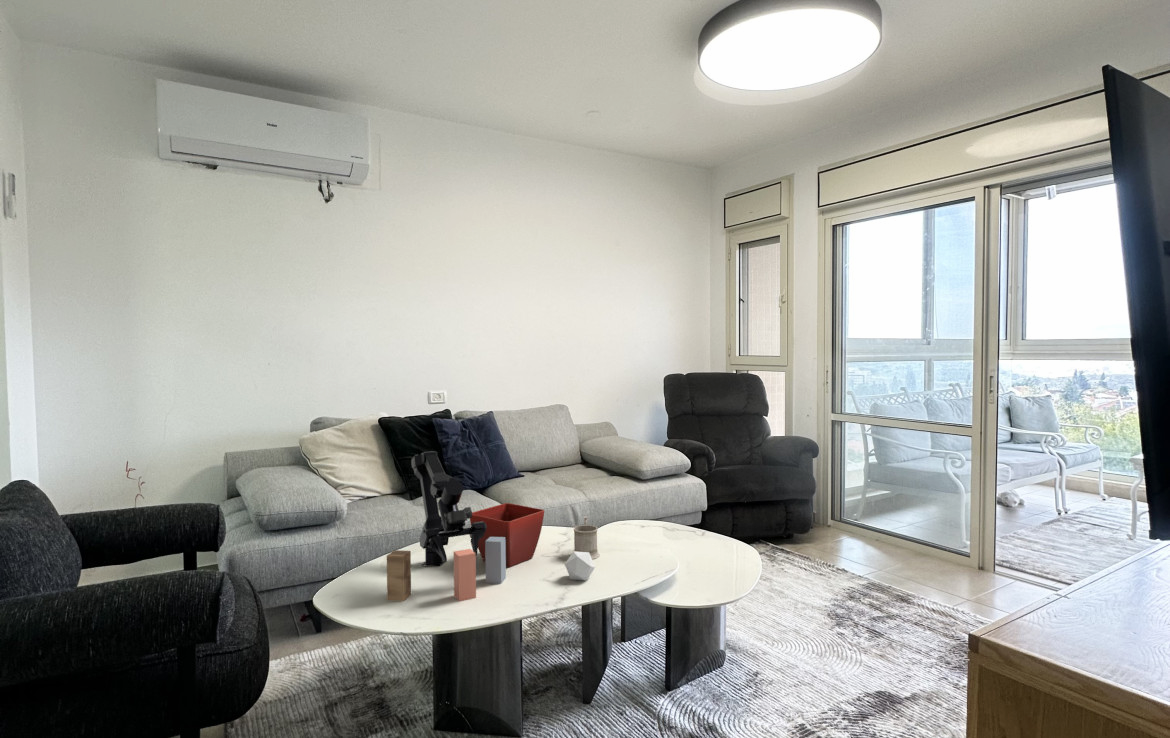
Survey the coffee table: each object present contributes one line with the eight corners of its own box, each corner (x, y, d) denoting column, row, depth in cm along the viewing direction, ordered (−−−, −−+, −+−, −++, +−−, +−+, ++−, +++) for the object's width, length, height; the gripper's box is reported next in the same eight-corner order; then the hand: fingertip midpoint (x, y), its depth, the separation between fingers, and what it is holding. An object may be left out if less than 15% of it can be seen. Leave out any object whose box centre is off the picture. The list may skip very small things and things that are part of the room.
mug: (599, 560, 208) (599, 525, 208) (571, 560, 208) (570, 525, 208) (599, 547, 223) (599, 514, 223) (573, 547, 223) (572, 515, 223)
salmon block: (454, 595, 178) (453, 551, 177) (470, 592, 180) (470, 548, 180) (459, 601, 173) (458, 556, 173) (476, 597, 176) (475, 553, 176)
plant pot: (508, 573, 196) (507, 521, 196) (468, 562, 208) (467, 513, 208) (546, 557, 212) (545, 509, 211) (507, 548, 223) (506, 502, 223)
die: (598, 577, 193) (584, 548, 198) (599, 572, 185) (585, 542, 190) (574, 589, 191) (561, 560, 196) (574, 584, 184) (560, 554, 188)
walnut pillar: (395, 593, 179) (394, 550, 179) (411, 594, 179) (410, 550, 179) (387, 600, 175) (386, 555, 174) (403, 601, 174) (402, 556, 174)
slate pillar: (490, 577, 193) (490, 536, 192) (505, 578, 192) (505, 537, 192) (485, 582, 188) (485, 541, 188) (501, 583, 187) (500, 541, 187)
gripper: (424, 502, 180) (435, 549, 170) (484, 495, 189) (497, 539, 179) (418, 523, 186) (428, 569, 177) (476, 515, 195) (488, 558, 186)
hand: (461, 558), depth 179 cm, fingers open, 9 cm apart
